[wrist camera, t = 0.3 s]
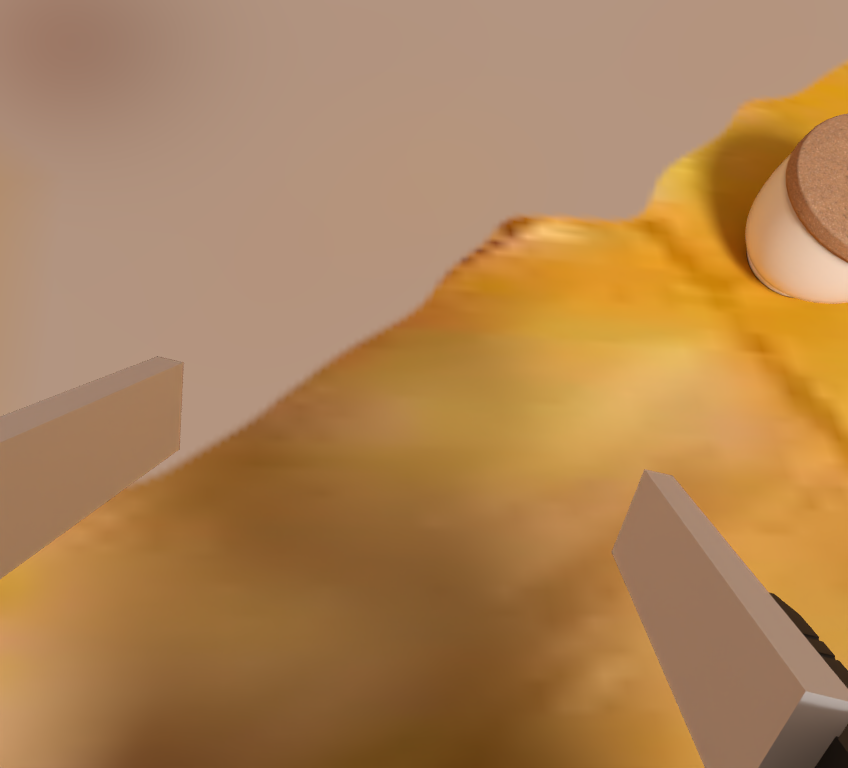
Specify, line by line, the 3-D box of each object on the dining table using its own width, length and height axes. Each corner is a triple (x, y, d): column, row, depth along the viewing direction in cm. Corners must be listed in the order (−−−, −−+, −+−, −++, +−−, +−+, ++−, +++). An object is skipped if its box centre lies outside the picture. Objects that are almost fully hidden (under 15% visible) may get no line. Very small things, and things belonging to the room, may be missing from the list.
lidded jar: (722, 182, 36) (825, 66, 27) (865, 218, 35) (1020, 112, 26) (706, 304, 33) (817, 219, 24) (863, 347, 32) (1038, 276, 23)
